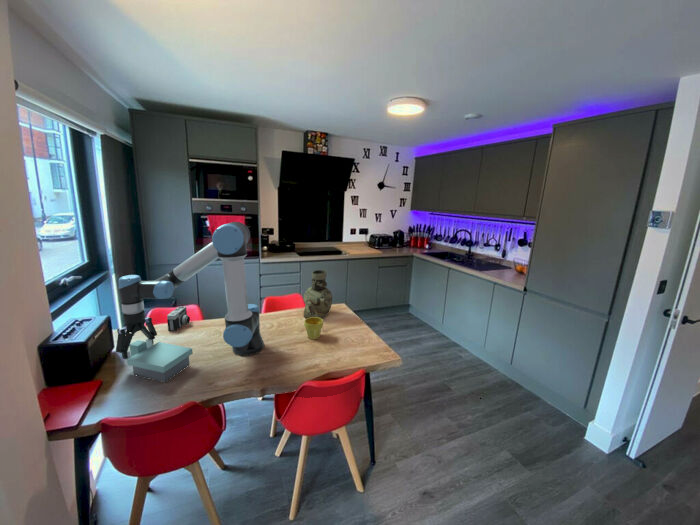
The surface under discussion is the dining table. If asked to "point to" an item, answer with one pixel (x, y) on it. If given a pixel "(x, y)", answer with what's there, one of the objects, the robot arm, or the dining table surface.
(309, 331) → the plant pot
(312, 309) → the ceramic vessel
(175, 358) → the lid
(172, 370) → the tub
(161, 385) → the dining table surface
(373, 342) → the dining table surface
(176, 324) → the camera
